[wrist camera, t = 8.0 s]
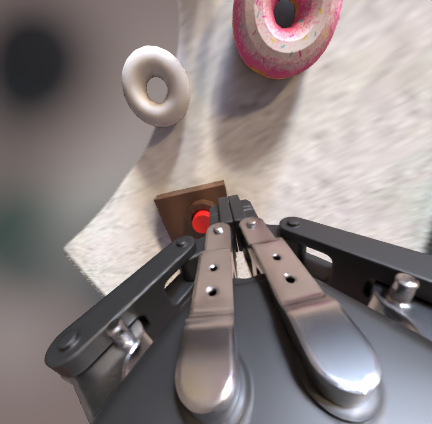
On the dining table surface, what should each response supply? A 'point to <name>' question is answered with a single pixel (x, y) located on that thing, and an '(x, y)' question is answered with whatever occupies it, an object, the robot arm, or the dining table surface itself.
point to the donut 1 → (138, 78)
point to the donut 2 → (283, 35)
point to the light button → (201, 221)
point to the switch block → (187, 207)
